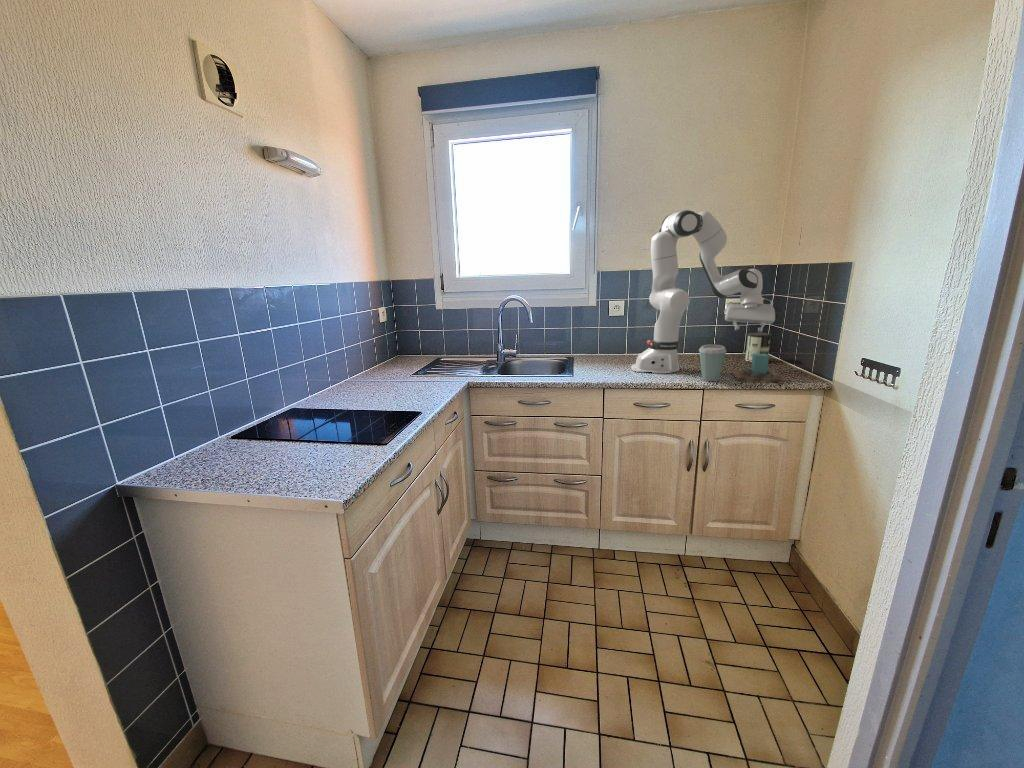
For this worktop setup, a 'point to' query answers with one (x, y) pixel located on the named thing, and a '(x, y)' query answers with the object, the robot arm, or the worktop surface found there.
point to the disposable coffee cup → (712, 361)
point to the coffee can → (757, 344)
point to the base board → (758, 376)
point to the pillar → (759, 363)
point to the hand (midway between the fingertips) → (748, 330)
